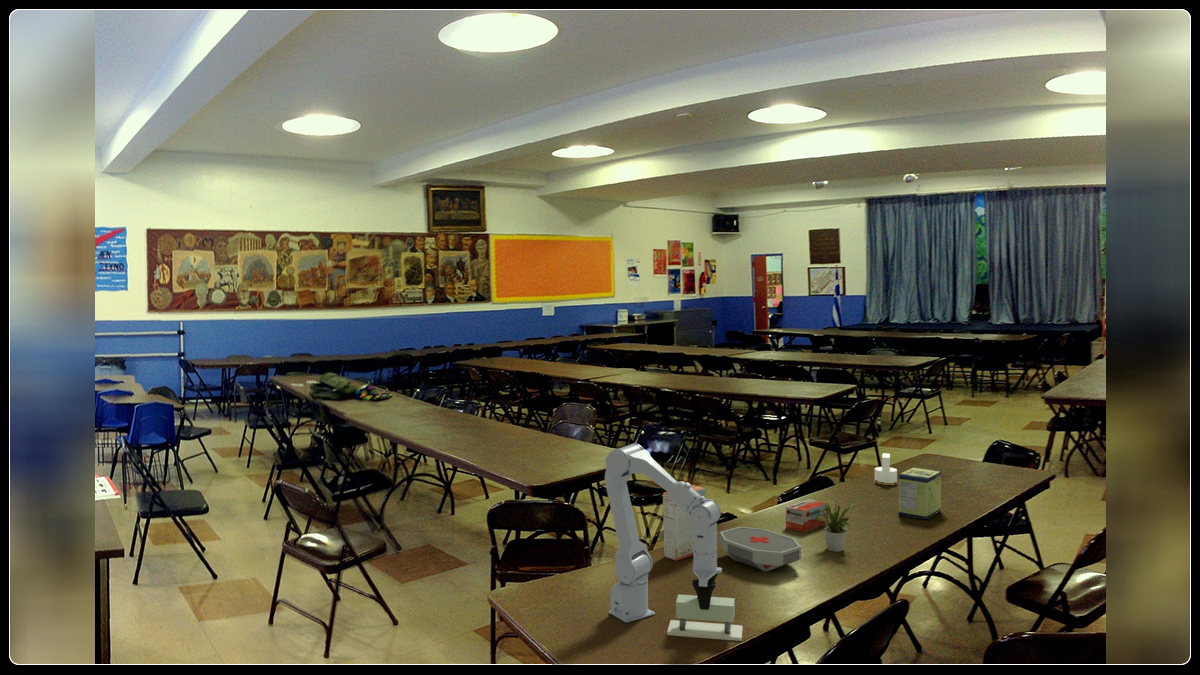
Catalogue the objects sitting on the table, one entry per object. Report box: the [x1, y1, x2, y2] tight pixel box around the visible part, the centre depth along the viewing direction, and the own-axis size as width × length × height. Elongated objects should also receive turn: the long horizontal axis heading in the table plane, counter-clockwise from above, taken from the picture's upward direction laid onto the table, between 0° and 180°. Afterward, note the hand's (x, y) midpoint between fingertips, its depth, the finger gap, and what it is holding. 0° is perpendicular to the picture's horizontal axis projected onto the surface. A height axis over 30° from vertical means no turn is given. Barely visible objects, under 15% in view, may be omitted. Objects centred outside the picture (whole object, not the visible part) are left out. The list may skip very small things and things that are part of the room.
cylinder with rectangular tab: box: [874, 452, 898, 483], centre depth 341 cm, size 9×9×12 cm
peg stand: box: [666, 618, 744, 642], centre depth 197 cm, size 18×7×4 cm, turn 78°
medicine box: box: [785, 498, 829, 533], centre depth 282 cm, size 15×8×8 cm, turn 133°
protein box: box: [897, 466, 942, 520], centre depth 295 cm, size 10×16×16 cm
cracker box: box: [662, 484, 706, 562], centre depth 253 cm, size 14×6×21 cm, turn 130°
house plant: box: [812, 499, 855, 552], centre depth 257 cm, size 14×14×16 cm
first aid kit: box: [719, 526, 802, 573], centre depth 245 cm, size 18×8×25 cm
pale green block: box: [675, 593, 736, 623], centre depth 196 cm, size 14×5×4 cm, turn 78°
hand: (705, 604), depth 196 cm, fingers closed on pale green block, 5 cm apart
